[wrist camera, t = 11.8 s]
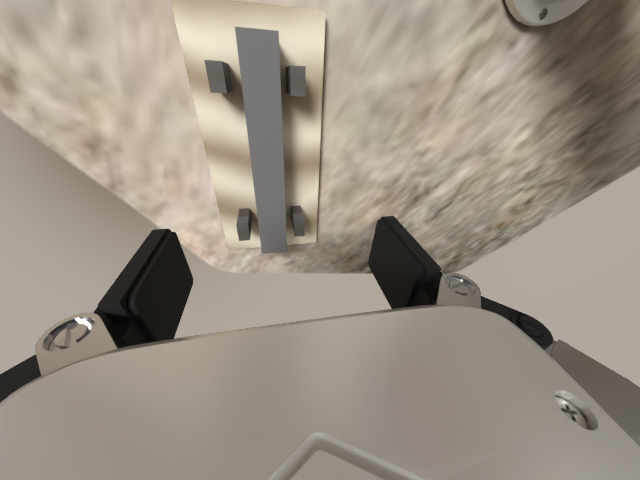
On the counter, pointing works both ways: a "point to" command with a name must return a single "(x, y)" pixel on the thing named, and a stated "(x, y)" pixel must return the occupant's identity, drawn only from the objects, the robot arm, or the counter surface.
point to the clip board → (229, 113)
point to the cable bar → (264, 130)
